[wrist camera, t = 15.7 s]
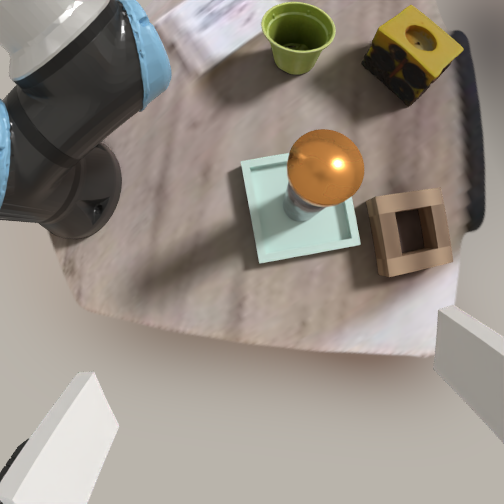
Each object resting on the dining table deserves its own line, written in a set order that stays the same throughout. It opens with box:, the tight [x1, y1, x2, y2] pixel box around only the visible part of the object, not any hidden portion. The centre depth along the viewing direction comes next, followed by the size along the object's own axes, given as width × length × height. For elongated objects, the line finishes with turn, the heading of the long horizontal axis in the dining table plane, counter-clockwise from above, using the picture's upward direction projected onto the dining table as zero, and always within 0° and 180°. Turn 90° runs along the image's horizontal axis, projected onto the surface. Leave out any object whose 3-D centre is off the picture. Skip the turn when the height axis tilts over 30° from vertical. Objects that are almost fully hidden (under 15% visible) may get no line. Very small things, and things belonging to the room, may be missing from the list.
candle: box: [362, 5, 464, 106], centre depth 36 cm, size 10×10×10 cm
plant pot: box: [261, 2, 335, 74], centre depth 37 cm, size 9×9×9 cm
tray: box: [241, 153, 361, 263], centre depth 41 cm, size 13×13×2 cm
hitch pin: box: [283, 129, 364, 222], centre depth 31 cm, size 5×5×20 cm
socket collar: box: [366, 187, 453, 277], centre depth 39 cm, size 10×10×4 cm
